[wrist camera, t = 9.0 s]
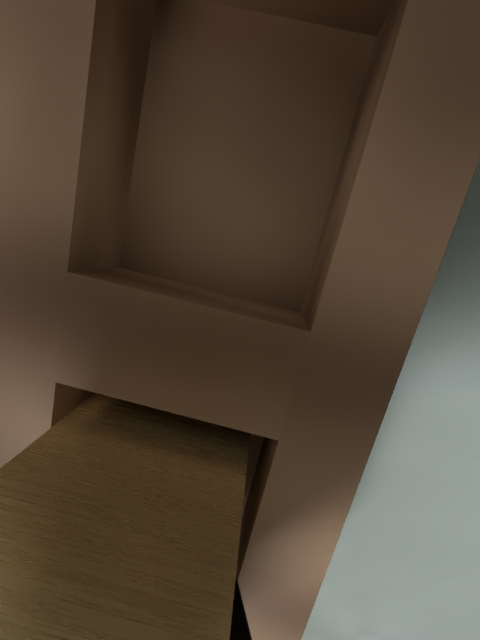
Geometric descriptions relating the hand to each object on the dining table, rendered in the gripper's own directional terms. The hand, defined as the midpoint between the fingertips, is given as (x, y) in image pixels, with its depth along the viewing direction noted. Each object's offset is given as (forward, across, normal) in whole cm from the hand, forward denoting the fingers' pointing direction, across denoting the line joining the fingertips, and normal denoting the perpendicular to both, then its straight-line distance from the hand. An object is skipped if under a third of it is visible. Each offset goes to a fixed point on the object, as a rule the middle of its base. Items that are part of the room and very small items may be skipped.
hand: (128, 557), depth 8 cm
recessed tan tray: (+5, 0, -5) cm, 7 cm away
